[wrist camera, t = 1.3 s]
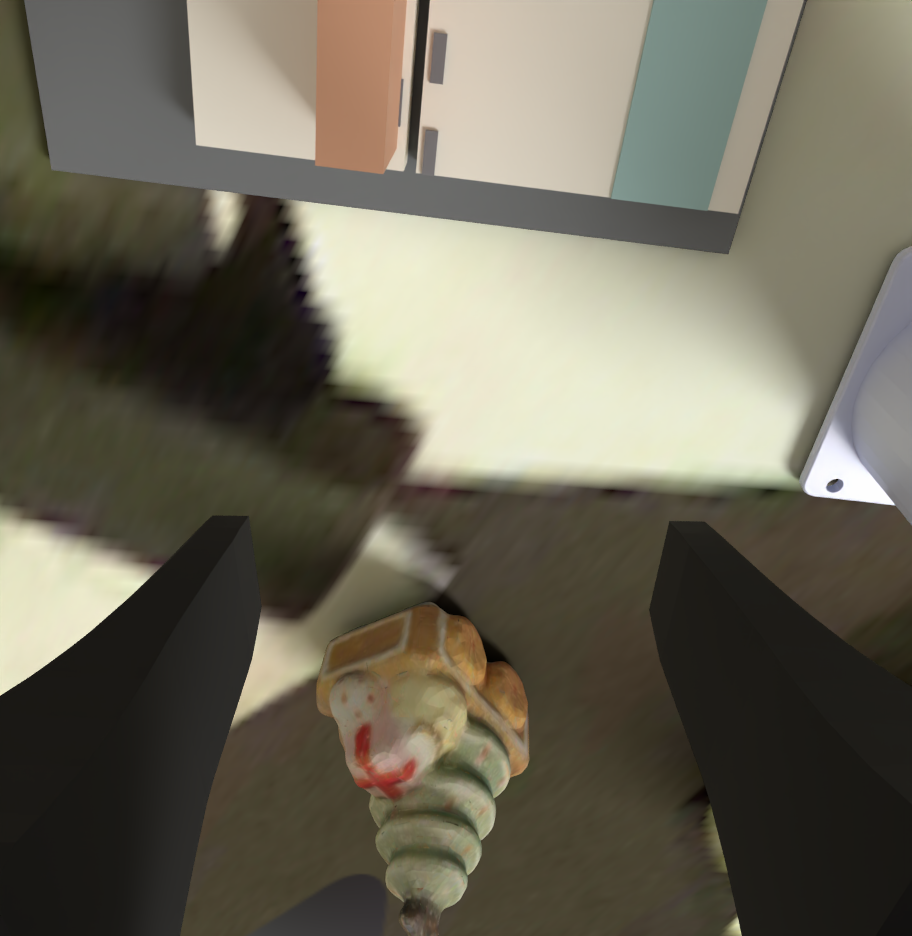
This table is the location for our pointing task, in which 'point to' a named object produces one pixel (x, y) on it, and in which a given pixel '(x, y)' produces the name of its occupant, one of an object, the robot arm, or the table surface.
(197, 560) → the robot arm
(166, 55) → the mat
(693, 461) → the table surface
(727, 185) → the ticket
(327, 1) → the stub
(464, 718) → the ornament
